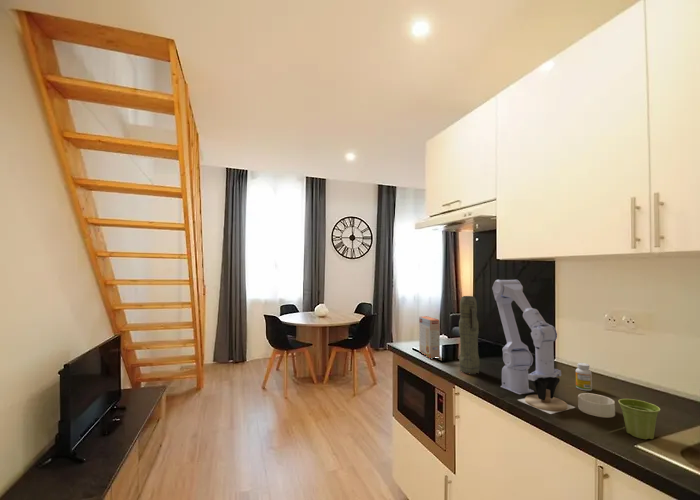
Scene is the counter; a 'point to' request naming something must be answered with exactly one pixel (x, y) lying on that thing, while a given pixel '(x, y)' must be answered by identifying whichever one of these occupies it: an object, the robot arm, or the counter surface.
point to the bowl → (596, 405)
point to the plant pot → (639, 417)
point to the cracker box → (429, 337)
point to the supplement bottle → (583, 377)
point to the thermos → (468, 335)
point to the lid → (546, 402)
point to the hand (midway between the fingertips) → (545, 398)
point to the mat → (547, 410)
